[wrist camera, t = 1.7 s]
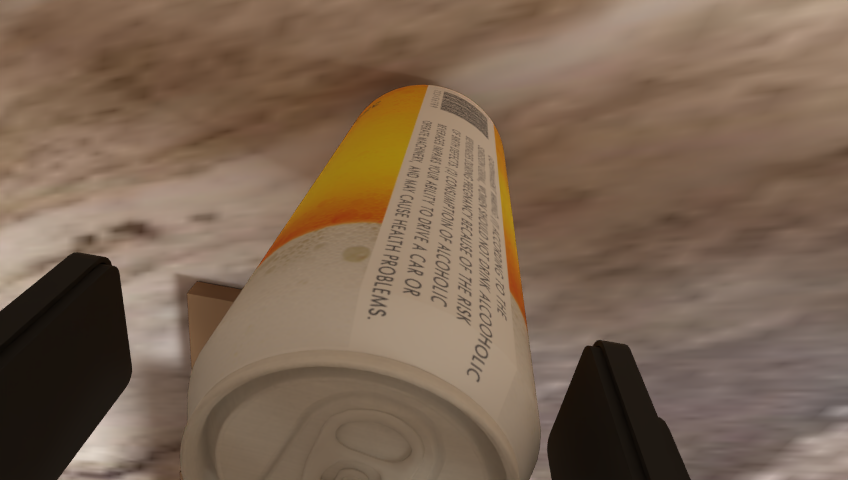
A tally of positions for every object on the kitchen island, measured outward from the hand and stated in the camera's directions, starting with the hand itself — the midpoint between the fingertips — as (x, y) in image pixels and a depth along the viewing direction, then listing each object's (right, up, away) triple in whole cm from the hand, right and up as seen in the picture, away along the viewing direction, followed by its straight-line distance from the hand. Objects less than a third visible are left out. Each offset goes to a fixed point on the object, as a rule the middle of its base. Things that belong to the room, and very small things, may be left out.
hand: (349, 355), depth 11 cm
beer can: (+2, +6, +11) cm, 12 cm away
